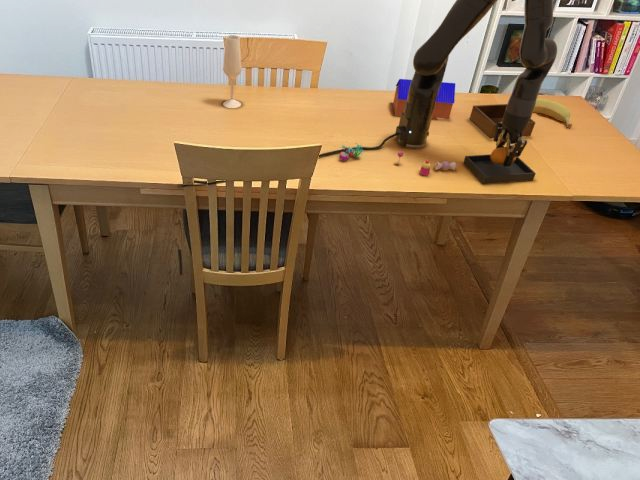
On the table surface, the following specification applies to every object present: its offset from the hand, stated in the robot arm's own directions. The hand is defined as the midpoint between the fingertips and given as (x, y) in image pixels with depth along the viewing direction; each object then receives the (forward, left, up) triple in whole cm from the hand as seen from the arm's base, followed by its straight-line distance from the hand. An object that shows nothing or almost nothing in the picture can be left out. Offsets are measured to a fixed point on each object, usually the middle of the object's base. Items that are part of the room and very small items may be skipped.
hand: (501, 161), depth 184 cm
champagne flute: (-76, +60, -4) cm, 97 cm away
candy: (-23, +4, -4) cm, 24 cm away
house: (-7, +46, -4) cm, 46 cm away
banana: (+38, +35, -4) cm, 51 cm away
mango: (0, 0, -1) cm, 1 cm away
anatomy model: (-45, +16, -4) cm, 48 cm away
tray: (0, 0, -4) cm, 4 cm away
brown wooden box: (+16, +29, -4) cm, 33 cm away
